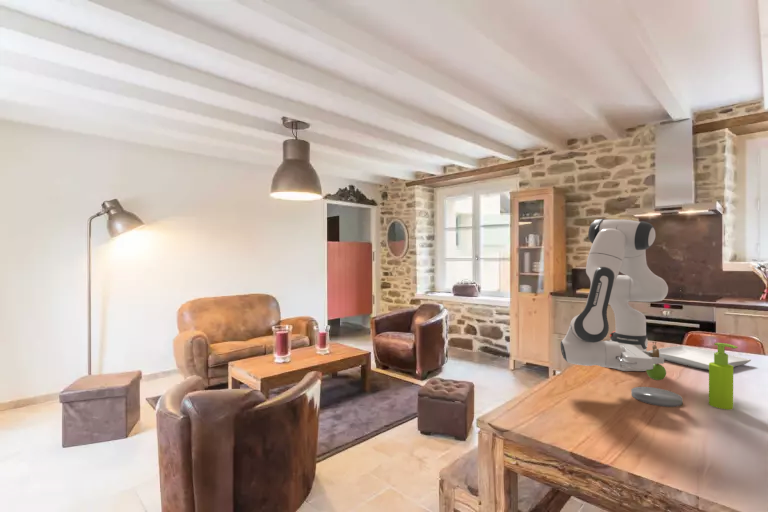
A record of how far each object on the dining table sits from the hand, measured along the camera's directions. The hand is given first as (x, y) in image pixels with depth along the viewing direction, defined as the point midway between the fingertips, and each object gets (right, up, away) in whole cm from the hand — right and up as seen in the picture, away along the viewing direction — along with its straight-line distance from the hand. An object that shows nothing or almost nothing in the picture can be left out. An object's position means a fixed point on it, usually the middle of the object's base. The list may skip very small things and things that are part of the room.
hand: (659, 357), depth 130 cm
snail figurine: (-1, -7, 0) cm, 8 cm away
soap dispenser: (+16, -14, -6) cm, 22 cm away
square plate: (+48, -14, +44) cm, 66 cm away
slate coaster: (-1, -14, 0) cm, 14 cm away
